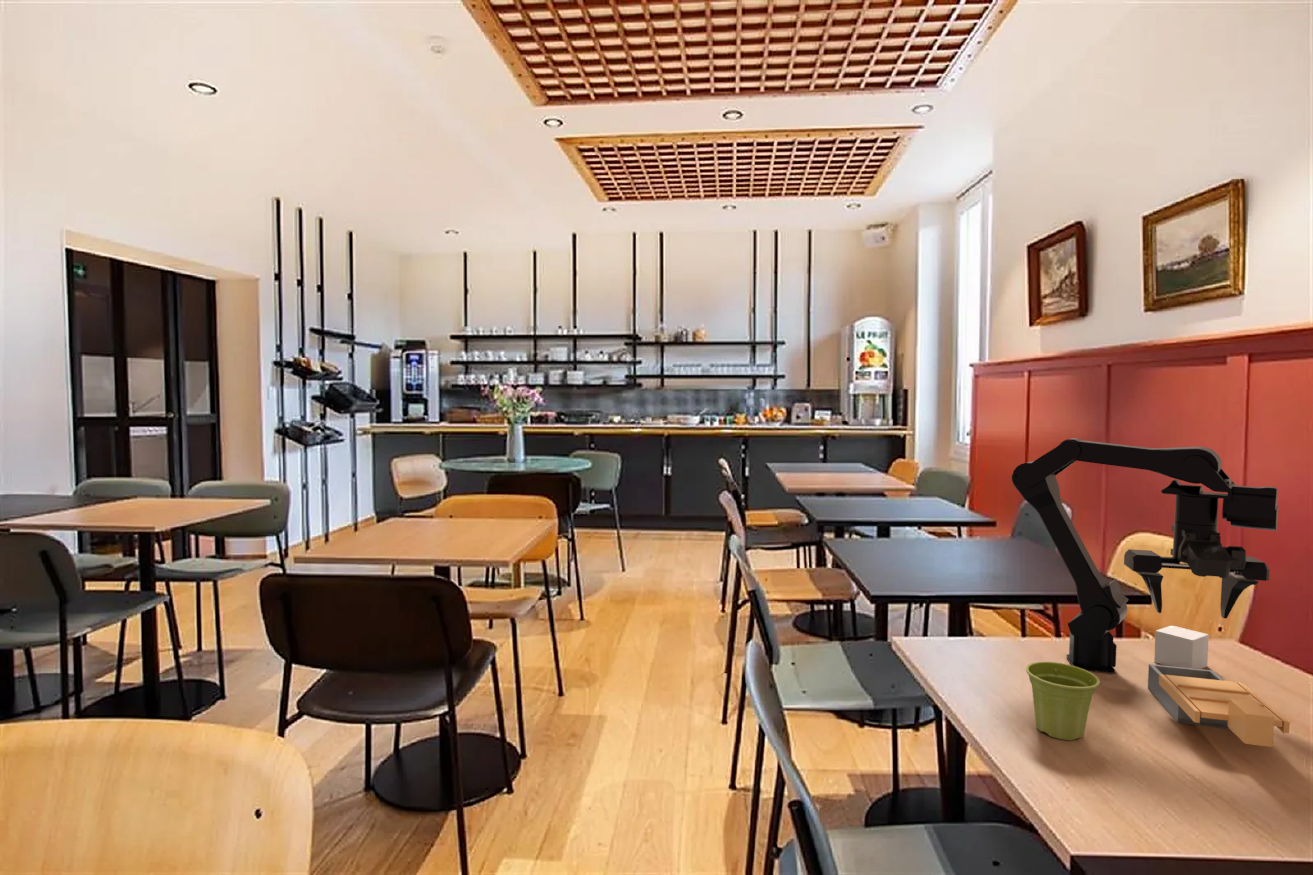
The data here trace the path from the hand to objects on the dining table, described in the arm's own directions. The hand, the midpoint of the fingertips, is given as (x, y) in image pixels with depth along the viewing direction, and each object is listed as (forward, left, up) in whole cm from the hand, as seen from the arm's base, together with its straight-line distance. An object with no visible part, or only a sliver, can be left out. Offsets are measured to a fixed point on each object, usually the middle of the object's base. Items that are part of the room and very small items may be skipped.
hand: (1191, 615), depth 119 cm
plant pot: (-24, -24, -13) cm, 36 cm away
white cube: (+3, +12, -13) cm, 18 cm away
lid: (-2, -19, -9) cm, 21 cm away
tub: (-2, -9, -12) cm, 15 cm away
